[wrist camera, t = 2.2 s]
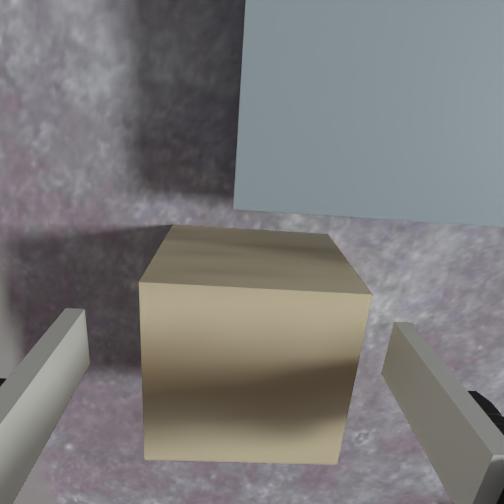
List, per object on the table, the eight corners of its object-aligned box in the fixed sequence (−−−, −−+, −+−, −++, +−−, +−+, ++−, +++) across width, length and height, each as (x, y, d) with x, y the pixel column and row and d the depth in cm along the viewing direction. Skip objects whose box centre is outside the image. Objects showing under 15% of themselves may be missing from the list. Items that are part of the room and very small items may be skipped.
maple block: (307, 360, 22) (336, 464, 16) (172, 355, 22) (144, 459, 15) (327, 233, 19) (372, 294, 13) (173, 223, 19) (138, 282, 12)
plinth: (468, 205, 19) (524, 228, 15) (234, 189, 18) (233, 209, 15) (552, -89, 15) (657, -156, 11) (253, -124, 14) (258, -209, 10)
